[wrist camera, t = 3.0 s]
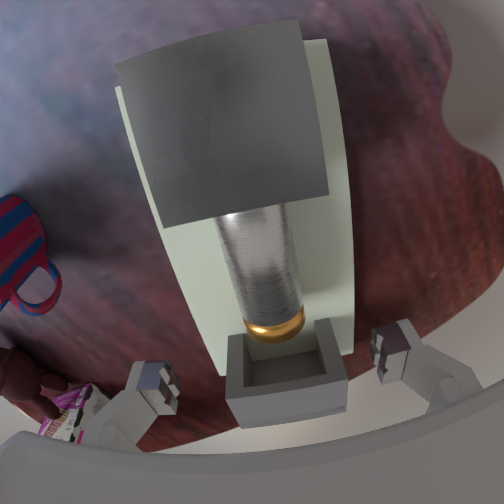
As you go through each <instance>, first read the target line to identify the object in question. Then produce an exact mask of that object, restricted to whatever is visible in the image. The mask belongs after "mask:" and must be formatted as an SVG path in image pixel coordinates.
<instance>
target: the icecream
mask: <svg viewBox="0 0 504 504" xmlns="http://www.w3.org/2000/svg"><path fill="white" fill-rule="evenodd" d="M40 384H41V385H43V386H44V387H46V388H48V389H50V390H52V391H58V392H64V391H66V390H67V389H68V382H67V381H66V380H65V379H64V378H62V377H61V376H59V375H57V374H53V373H49V372H39V371H38V368H37V366H36V364H35V362H34V361H33V360H32V358H31V357H30V356H29V355H27V354H26V353H25V352H23V351H22V350H19V349H18V348H17V346H13V347H12V348H11V350H10V349H6V348H2V347H0V396H1V395H2V396H3V397H4V398H6V399H9V400H12V401H15V402H25V401H30V402H31V403H32V404H33V405H34V407H35V408H37V409H38V410H39V414H40V415H41V416H45V417H47V418H48V419H52V420H55V419H58V418H59V417H60V410H59V408H58V407H57V406H56V405H55V404H54V403H53V402H52V401H51V400H50V399H49V398H47V397H46V396H44V397H43V396H42V395H40V394H39V393H40V392H41V386H40Z"/></svg>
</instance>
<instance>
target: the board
mask: <svg viewBox="0 0 504 504" xmlns="http://www.w3.org/2000/svg"><path fill="white" fill-rule="evenodd" d="M303 42H304V47H305V51H306V56H307V60H308V65H309V70H310V75H311V80H312V85H313V90H314V95H315V101H316V106H317V112H318V118H319V124H320V130H321V137H322V143H323V150H324V157H325V164H326V172H327V180H328V188H329V195H327V196H321V197H315V198H310V199H304V200H299V201H294V202H288V205H289V211H290V217H291V223H292V229H293V235H294V242H295V248H296V254H297V261H298V268H299V274H300V281H301V288H302V296H303V303H304V310H305V318H306V319H305V324H304V327H303V328H302V330H301V331H300V332H299V333H298V334H297V335H296V336H294V337H293V338H291V339H289V340H287V341H284V342H280V343H274V344H268V343H261V342H258V341H256V340H254V339H252V338H251V337H250V336H249V335H248V333H247V331H246V328H245V325H244V322H243V318H242V315H241V312H240V309H239V306H238V302H237V299H236V296H235V292H234V289H233V286H232V282H231V279H230V276H229V272H228V269H227V266H226V262H225V259H224V256H223V252H222V249H221V245H220V242H219V238H218V235H217V231H216V228H215V224H214V221H213V218H209V219H205V220H200V221H196V222H191V223H187V224H182V225H178V226H173V227H169V228H165V229H163V226H162V223H161V220H160V217H159V214H158V211H157V208H156V206H155V203H154V200H153V197H152V194H151V191H150V188H149V184H148V181H147V178H146V175H145V172H144V169H143V166H142V162H141V159H140V156H139V152H138V149H137V146H136V142H135V139H134V135H133V132H132V128H131V125H130V121H129V118H128V114H127V110H126V107H125V103H124V99H123V95H122V91H121V87H120V86H118V87H115V90H116V94H117V98H118V102H119V106H120V110H121V113H122V117H123V121H124V124H125V128H126V131H127V135H128V138H129V142H130V145H131V148H132V152H133V155H134V158H135V161H136V165H137V168H138V171H139V174H140V177H141V180H142V183H143V186H144V189H145V192H146V195H147V198H148V201H149V204H150V207H151V210H152V213H153V216H154V219H155V221H156V224H157V227H158V230H159V232H160V235H161V238H162V241H163V243H164V246H165V249H166V251H167V254H168V256H169V259H170V262H171V264H172V267H173V269H174V272H175V274H176V277H177V279H178V282H179V284H180V287H181V289H182V292H183V294H184V297H185V299H186V301H187V304H188V306H189V308H190V311H191V313H192V315H193V318H194V320H195V322H196V325H197V327H198V329H199V331H200V334H201V336H202V338H203V340H204V343H205V345H206V347H207V349H208V351H209V354H210V356H211V358H212V360H213V362H214V364H215V366H216V369H217V371H218V373H219V375H220V376H226V368H227V345H228V336H229V335H236V334H242V333H243V335H244V338H245V341H246V344H247V347H248V350H249V353H250V356H251V359H252V361H257V360H264V359H270V358H276V357H282V356H288V355H293V354H298V353H304V352H309V351H314V350H317V349H316V338H315V328H314V320H319V319H324V318H329V319H330V322H331V325H332V328H333V332H334V335H335V338H336V341H337V344H338V347H339V351H340V354H341V356H342V355H346V354H350V353H353V346H354V254H353V232H352V216H351V202H350V190H349V179H348V169H347V160H346V151H345V143H344V136H343V128H342V121H341V115H340V108H339V102H338V96H337V90H336V85H335V79H334V74H333V69H332V64H331V59H330V54H329V49H328V45H327V40H326V39H317V40H306V41H303Z"/></svg>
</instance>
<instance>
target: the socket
mask: <svg viewBox="0 0 504 504" xmlns="http://www.w3.org/2000/svg"><path fill="white" fill-rule="evenodd" d="M314 328H315V338H316V349H317V350H314V351H309V352H304V353H298V354H293V355H288V356H282V357H276V358H270V359H264V360H257V361H252V359H251V356H250V353H249V350H248V347H247V344H246V341H245V338H244V335H243V333H242V334H236V335H229V336H228V345H227V368H226V393H225V400H226V402H227V404H228V406H229V407H230V409H231V411H232V413H233V415H234V417H235V418H236V420H237V422H238V424H239V426H240V427H241V429H245V428H254V427H263V426H270V425H278V424H285V423H291V422H297V421H303V420H308V419H314V418H319V417H324V416H328V415H333V414H338V413H342V412H346V405H347V389H348V377H347V374H346V370H345V367H344V364H343V360H342V357H341V354H340V351H339V347H338V344H337V341H336V338H335V335H334V332H333V328H332V325H331V322H330V319H329V318H324V319H319V320H314Z"/></svg>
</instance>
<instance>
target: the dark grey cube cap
mask: <svg viewBox="0 0 504 504" xmlns="http://www.w3.org/2000/svg"><path fill="white" fill-rule="evenodd" d="M115 66H116V71H117V75H118V79H119V83H120V87H121V91H122V95H123V99H124V103H125V107H126V110H127V114H128V118H129V121H130V125H131V128H132V132H133V135H134V139H135V142H136V146H137V149H138V152H139V156H140V159H141V162H142V166H143V169H144V172H145V175H146V178H147V181H148V184H149V188H150V191H151V194H152V197H153V200H154V203H155V206H156V208H157V211H158V214H159V217H160V220H161V223H162V226H163V229H165V228H169V227H173V226H178V225H182V224H187V223H191V222H196V221H200V220H205V219H209V218H214V217H219V216H223V215H228V214H233V213H238V212H243V211H247V210H252V209H257V208H262V207H267V206H273V205H278V204H283V203H288V202H294V201H299V200H304V199H310V198H315V197H321V196H327V195H329V188H328V180H327V172H326V164H325V157H324V150H323V143H322V137H321V130H320V124H319V118H318V112H317V106H316V101H315V95H314V90H313V85H312V80H311V75H310V70H309V65H308V60H307V56H306V51H305V47H304V42H303V38H302V34H301V30H300V26H299V21H298V19H294V20H285V21H276V22H269V23H262V24H256V25H250V26H244V27H239V28H234V29H229V30H224V31H219V32H215V33H211V34H207V35H203V36H199V37H195V38H191V39H188V40H184V41H181V42H177V43H174V44H171V45H168V46H165V47H162V48H159V49H156V50H153V51H150V52H147V53H144V54H142V55H139V56H136V57H134V58H131V59H128V60H126V61H123V62H121V63H118V64H116V65H115Z"/></svg>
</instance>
